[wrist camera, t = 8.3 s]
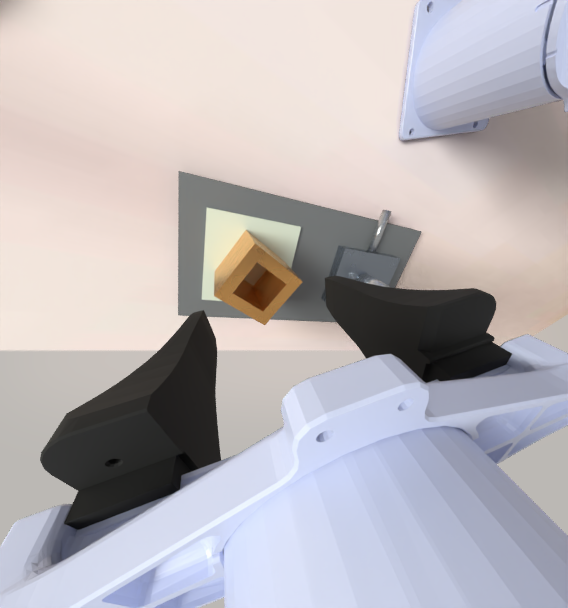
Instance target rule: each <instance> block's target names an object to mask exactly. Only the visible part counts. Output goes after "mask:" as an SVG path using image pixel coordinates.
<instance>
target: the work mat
mask: <svg viewBox="0 0 568 608" xmlns="http://www.w3.org/2000/svg"><path fill="white" fill-rule="evenodd" d="M377 224H378V221H377V220H373V219H369V218H365V217H361V216H357V215H353V214H349V213H345V212H341V211H337V210H333V209H329V208H325V207H321V206H317V205H313V204H309V203H305V202H301V201H297V200H293V199H289V198H285V197H281V196H277V195H273V194H269V193H265V192H261V191H257V190H253V189H249V188H245V187H241V186H237V185H233V184H229V183H225V182H221V181H217V180H213V179H209V178H205V177H201V176H197V175H193V174H189V173H185V172H181V171H179V241H178V315H182V316H190V315H191V314H192V313H194V312H198V311H202V310H204V312H205V314H206V316H207V317H228V318H251V317H249V316H248V315H246V314H244V313H243V312H241V311H239V310H237V309H236V308H234V307H232V306H230V305H229V304H227V303H225V302H223V301H222V300H220V299H218V298H216V297H215V296H214V274H215V270H216V269H217V268H218V266H219V265H220V264H221V262H222V261H223V260H224V258H225V257H226V256H227V254H228V253H229V252H230V250H231V249H232V248H233V246H234V245H235V244H236V242H237V241H238V240H239V238H240V237H241V236H242V234H243V233H244V232H245V230H247V231H248V232H249V233H251V234H252V235H253V236H254V237H256V238H257V239H258V240H259V241H260V242H262V243H263V244H264V245H265V246H266V247H268V248H269V249H270V250H271V251H273V252H274V253H275V254H276V255H277V256H279V257H280V258H281V259H282V260H283V261H285V262H286V264H287V265H288V266H289V267H290V268H291V269H292V270H293V271H294V272H295V274H296V275H297V276H298V277H299V278H300V279H301V280H302V281H303V282H302V283H301V284H300V285H299V287H298V288H297V289H296V290H295V291H294V292H293V293H292V295H291V296H290V297H289V298H288V299H287V300H286V301H285V303H284V304H283V305H282V306H281V307H280V308H279V309H278V311H277V312H276V313H275V314H274V315H273V316H272V317H271V319H275V320H298V321H321V322H336V320H335V319H334V318H333V316H332V315H331V313H330V312H329V310H328V308H327V307H326V303H325V302H324V301H323V300H322V299H321V298H322V295H323V292H324V289H325V278H326V277H329V274H330V270H331V267H332V264H333V261H334V258H335V255H336V252H337V249H338V246H339V245H340V246H346V247H351V248H356V249H362V250H368V247H369V245H370V242H371V240H372V237H373V234H374V232H375V229H376V227H377ZM420 234H421V231H417V230H413V229H409V228H405V227H401V226H397V225H393V224H389V223H387V224H386V227H385V229H384V232H383V234H382V237H381V239H380V242H379V244H378V247H377V249H376V252H378V253H383V254H389V255H393V256H396V257H398V258H401V259H400V262H399V264H398V266H397V268H396V270H395V272H394V275H393V277H392V279H391V281H390V283H389V287H390V288H395V287H396V285H397V282H398V280H399V278H400V276H401V274H402V272H403V270H404V268H405V266H406V264H407V261H408V259H409V257H410V255H411V253H412V251H413V249H414V247H415V245H416V243H417V240H418V238H419V236H420ZM266 270H267V269H266V268H264V267H263V266H262V265H260V264H259V263H258V262H257V263H256V264H255V266H254V267H253V268H252V269H251V271H250V272H249V273H248V274H247V276H246V277H245V278H244V280H246V281H247V282H248V283H250V284H251V285H253V286H254V285H255V283H256V282H257V281H258V280H259V279H260V277H261V276H262V275H263V274H264V272H265V271H266ZM251 319H253V318H251Z"/></svg>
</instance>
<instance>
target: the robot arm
mask: <svg viewBox="0 0 568 608" xmlns="http://www.w3.org/2000/svg"><path fill="white" fill-rule="evenodd" d="M427 6H428V8H429V12H428V11H427ZM559 100H563V101H564V111H565V112H568V0H419V2H418V3H417V4H416V6H415V10H414V18H413V26H412V34H411V42H410V50H409V58H408V66H407V74H406V82H405V90H404V98H403V106H402V114H401V122H400V130H399V138H400V139H401V140H411V139H418V138H426V137H434V136H442V135H450V134H458V133H466V132H474V131H481V130H484V129H485V128H486V126H487V124H488V121H489V118H491V117H495V116H499V115H503V114H507V113H511V112H515V111H519V110H523V109H527V108H531V107H535V106H539V105H543V104H547V103H551V102H555V101H559ZM473 124H474V125H473ZM410 130H411V134H410V135H409V131H410ZM325 292H326V307H327V308H328V310H329V312H330V313H331V315H332V316H333V318H334V319H335V320H336V322H337V323H338V324H339V325H340V326H341V327H342V329H343V330H344V331H345V332H346V333H347V334H348V335H349V336H350V338H351V339H352V340H353V341H354V342H355V343H356V345H357V346H358V347H359V348H360V350H361V351H362V353H363V354H364V356H365V357H366V359H364V360H361V361H357V362H354V363H352V364H349V365H346V366H343V367H340V368H337V369H334V370H331V371H328V372H325V373H322V374H319V375H316V376H313V377H310V378H307V379H306V380H304V381H302V382H300V383H298V384H296V385H295V386H293V388H292V389H291V390H290V391H289V392H288V393H287V395H286V396H285V397H284V398H283V401H282V407H281V413H282V416H283V420H284V426H283V427H282V428H280V429H278V430H277V431H275V432H273V433H271V434H270V435H268V436H267V437H265V438H264V439H262V440H260V441H258V442H257V443H255V444H253V445H252V446H250V447H248V448H247V449H245V450H244V451H242V452H241V453H239V454H237V455H234V456H232V457H229V458H226V459H224V460H221V457H220V448H219V438H218V426H217V414H216V401H215V400H216V399H215V384H216V366H217V346H216V338H215V336H214V333H213V331H212V328H211V326H210V324H209V321H208V319H207V316H206V314H205V312H204V310H202V311H198V312H194V313H192V314H191V315H190V316H189V317H188V318H187V320H186V321H185V322H184V323H183V325H182V326H181V327H180V328H179V329H178V331H177V332H176V333H175V334H174V335H173V336H172V337H171V338H170V340H169V341H168V342H167V343H166V344H165V345H164V346H163V347H162V348H161V349H160V350H159V351H158V352H157V353H156V354H155V355H153V356H152V357H151V358H150V359H149V360H148V361H147V362H146V363H144V364H143V365H142V366H140V367H139V368H138V369H136V370H135V371H134V372H133V373H131V374H130V375H129V376H127V377H126V378H124V379H123V380H122V381H120V382H119V383H117V384H116V385H114V386H113V387H111V388H110V389H108V390H106V391H105V392H103V393H102V394H100V395H98V396H97V397H95V398H93V399H92V400H90V401H88V402H86V403H85V404H83V405H81V406H79V407H78V408H76V409H74V410H72V411H71V412H69V413H67V414H66V416H65V417H64V419H63V420H62V422H61V423H60V425H59V427H58V428H57V429H56V431H55V433H54V434H53V436H52V438H51V439H50V440H49V442H48V443H47V445H46V446H45V448H44V449H43V451H42V452H41V458H40V461H41V463H42V465H43V467H44V469H45V470H46V471H47V472H49V473H50V474H51V475H52V476H54V477H56V478H58V479H59V480H61V481H63V482H64V483H66V484H68V485H69V486H71V487H73V488H74V489H76V490H78V494H77V496H76V498H75V500H74V502H73V504H62V505H58V506H54V507H52V508H49V509H46V510H43V511H41V512H38V513H35V514H33V515H30V516H27V517H24V518H22V519H19V520H18V521H16V522H15V523H14V525H13V526H12V528H11V530H10V531H9V533H8V535H7V536H6V538H5V540H4V541H3V543H2V545H1V546H0V608H199V607H201V606H204V605H207V604H209V603H212V602H214V601H217V600H219V599H222V598H224V601H225V608H568V536H567V535H566V534H565V533H564V532H563V531H562V530H561V529H560V528H559V527H558V526H557V525H556V524H555V523H554V522H553V521H552V520H551V519H550V518H549V517H548V516H547V515H546V513H545V512H544V511H542V510H541V508H540V507H539V506H538V505H536V503H534V501H532V500H531V498H530V497H528V496H527V494H526V493H525V492H524V491H523V490H522V489H521V488H519V486H518V485H516V483H515V482H514V481H513V480H511V478H510V477H509V476H508V475H507V474H506V473H505V472H504V471H503V470H502V469H501V468H499V466H497V464H498V463H500V462H502V461H504V460H505V459H507V458H509V457H511V456H512V455H514V454H516V453H517V452H519V451H521V450H522V449H524V448H526V447H528V446H530V445H531V444H533V443H535V442H537V441H539V440H540V439H542V438H544V437H546V436H548V435H550V434H552V433H554V432H556V431H558V430H560V429H562V428H564V427H566V426H568V353H566V352H564V351H562V350H560V349H558V348H555V347H554V346H552V345H549V344H547V343H545V342H543V341H541V340H539V339H537V338H535V337H533V336H531V335H529V334H527V335H522V336H520V337H517V338H514V339H512V340H509V341H507V342H505V343H503V344H502V345H501V346H498V345H496V344H494V343H493V342H492V341H494V337H493V336H491V335H490V334H488V333H486V331H487V329H488V327H489V325H490V322H491V320H492V318H493V316H494V313H495V310H496V301H495V299H494V297H493V296H492V295H490V294H488V293H486V292H483V291H481V290H478V289H474V288H471V289H456V290H409V289H398V288H390V287H383V286H378V285H373V284H369V283H364V282H360V281H356V280H353V279H349V278H345V277H341V276H330V277H326V278H325Z"/></svg>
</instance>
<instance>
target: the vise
mask: <svg viewBox="0 0 568 608" xmlns="http://www.w3.org/2000/svg"><path fill="white" fill-rule="evenodd" d="M390 214H391V211H387V210H383V211H382V214H381V216H380V219H379V221H378V224H377V227H376V229H375V232H374V234H373V237H372V240H371V242H370V245H369V247H368V250H362V249H356V248H351V247H346V246H340V245H339V246H338V249H337V252H336V255H335V258H334V261H333V264H332V267H331V270H330V274H329V277H330V276H341V277H345V278H349V279H353V280H356V281H360V282H364V283H369V284H373V285H378V286H383V287H389V283H390V281H391V279H392V277H393V275H394V272H395V270H396V268H397V266H398V264H399V262H400V259H401V258H398V257H396V256H393V255H389V254H383V253H378V252H376V249H377V247H378V244H379V242H380V239H381V237H382V234H383V232H384V229H385V227H386V224H387V222H388V219H389V217H390ZM321 299H322V300H323V301H324V302H325V303H326V292H325V289H324V292H323V295H322V298H321Z"/></svg>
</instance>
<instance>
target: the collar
mask: <svg viewBox="0 0 568 608" xmlns="http://www.w3.org/2000/svg"><path fill="white" fill-rule="evenodd" d="M257 262H258V263H259V264H260V265H262V266H263V267H264V268H266V269H267V270H266V271H265V272H264V274H263V275H262V276H261V277H260V279H259V280H258V281H257V282H256V283H255V285H254V286H253V285H251V284H250V283H248V282H247V281H246V280H244V278H245V277H246V276H247V274H248V273H249V272H250V271H251V269H252V268H253V267H254V266H255V264H256V263H257ZM302 282H303V281H302V280H301V279H300V278H299V277H298V276H297V275H296V274H295V272H294V271H293V270H292V269H291V268H290V267H289V266H288V265H287V264H286V262H285V261H283V260H282V259H281V258H280V257H279V256H277V255H276V254H275V253H274V252H273V251H271V250H270V249H269V248H268V247H266V246H265V245H264V244H263V243H262V242H260V241H259V240H258V239H257V238H256V237H254V236H253V235H252V234H251V233H249V232H248V231H247V230H245V232H244V233H243V234H242V236H241V237H240V238H239V240H238V241H237V242H236V244H235V245H234V246H233V248H232V249H231V250H230V252H229V253H228V254H227V256H226V257H225V258H224V260H223V261H222V262H221V264H220V265H219V266H218V268H217V269H216V270H215V274H214V296H215V297H216V298H218V299H220V300H222V301H223V302H225V303H227V304H229V305H230V306H232V307H234V308H236V309H237V310H239V311H241V312H243V313H244V314H246V315H248V316H249V317H251V318H253V319H255V320H256V321H258V322H260V323H262V324H263V325H265V324H266V323H267V322H268V321H269V320H270V319H271V317H272V316H273V315H274V314H275V313H276V312H277V311H278V309H279V308H280V307H281V306H282V305H283V304H284V303H285V301H286V300H287V299H288V298H289V297H290V296H291V295H292V293H293V292H294V291H295V290H296V289H297V288H298V287H299V285H300V284H301V283H302Z"/></svg>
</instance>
